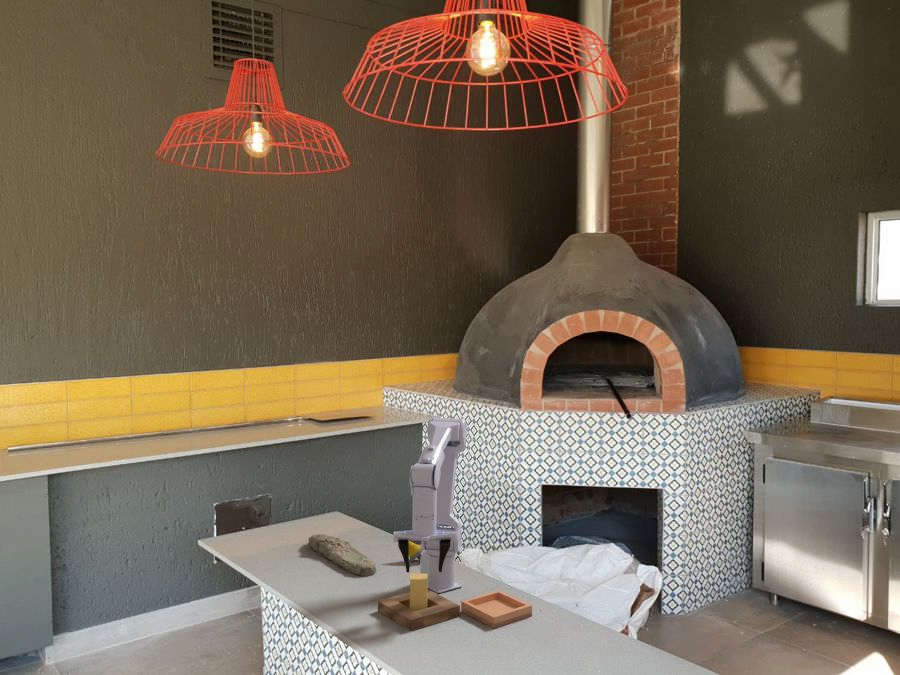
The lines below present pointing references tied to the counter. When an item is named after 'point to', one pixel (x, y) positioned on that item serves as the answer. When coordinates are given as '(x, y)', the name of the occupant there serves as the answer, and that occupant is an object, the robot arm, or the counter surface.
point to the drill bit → (414, 551)
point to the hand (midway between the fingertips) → (424, 570)
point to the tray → (496, 608)
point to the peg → (418, 591)
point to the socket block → (413, 620)
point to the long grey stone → (342, 554)
